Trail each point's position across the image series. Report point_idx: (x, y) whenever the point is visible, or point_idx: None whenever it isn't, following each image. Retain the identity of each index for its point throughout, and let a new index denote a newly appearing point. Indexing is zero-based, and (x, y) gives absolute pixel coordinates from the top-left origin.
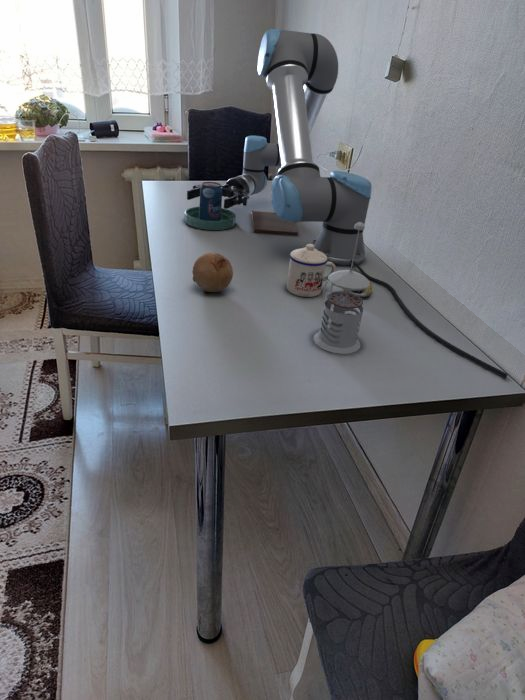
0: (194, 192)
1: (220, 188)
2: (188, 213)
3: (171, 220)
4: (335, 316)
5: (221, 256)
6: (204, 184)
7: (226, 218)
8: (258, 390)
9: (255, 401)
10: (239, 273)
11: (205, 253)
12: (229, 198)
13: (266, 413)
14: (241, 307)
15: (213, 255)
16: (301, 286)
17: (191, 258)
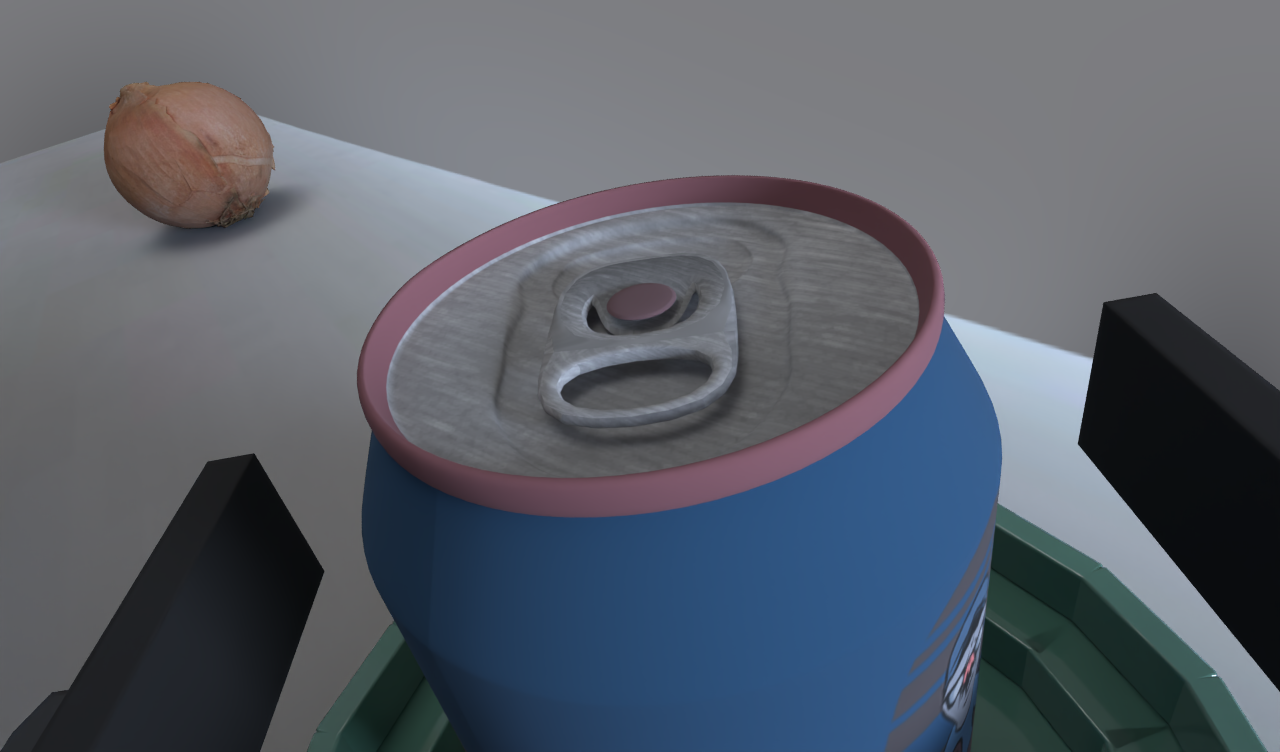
0: (1234, 494)
1: (371, 443)
2: (1123, 672)
3: (1120, 519)
4: None
5: (123, 94)
6: (806, 238)
7: None
8: (69, 152)
9: (76, 144)
10: (125, 318)
11: (196, 88)
12: (154, 573)
13: (59, 144)
14: (107, 224)
15: (156, 86)
16: None
17: (402, 270)
